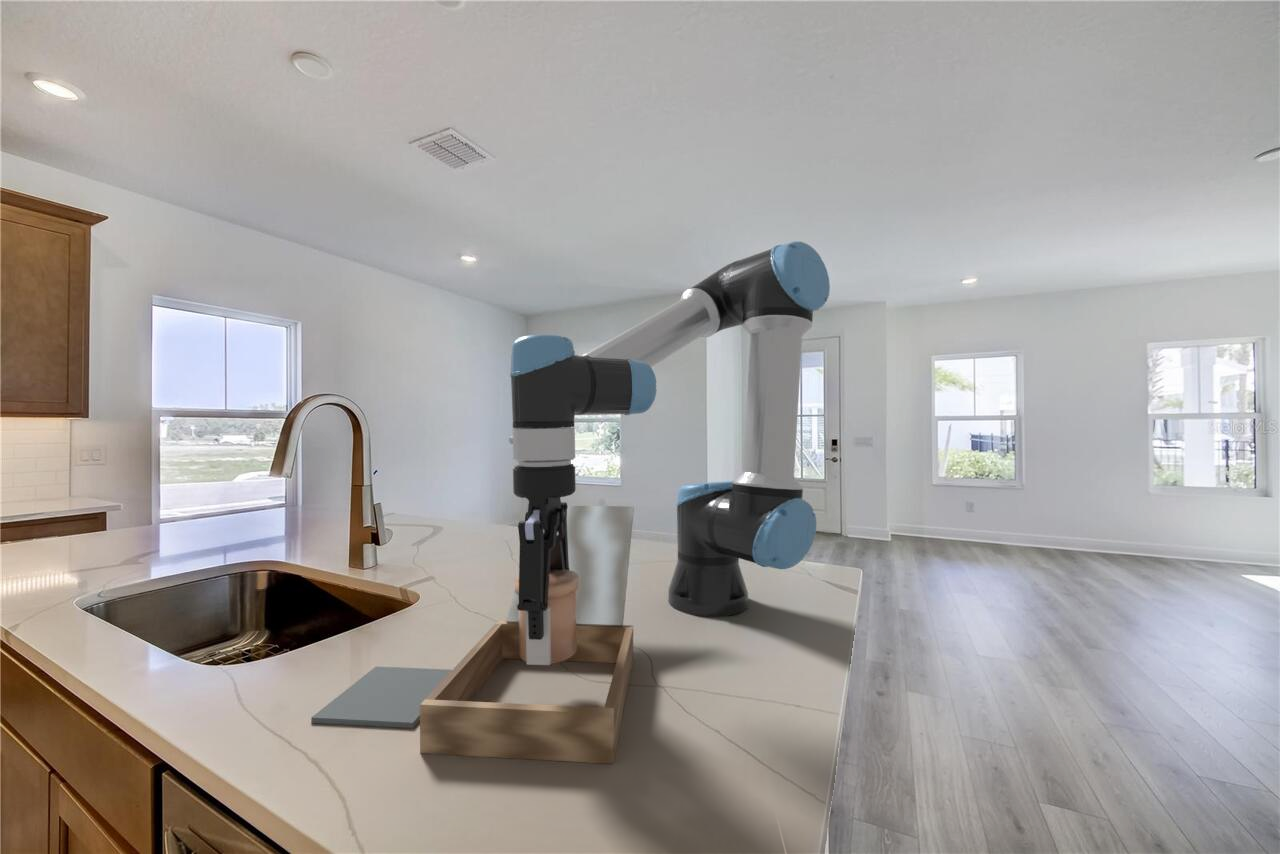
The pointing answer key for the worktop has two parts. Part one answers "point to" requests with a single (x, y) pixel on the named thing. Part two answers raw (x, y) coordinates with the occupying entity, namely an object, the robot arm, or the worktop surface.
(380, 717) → the mat
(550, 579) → the pot
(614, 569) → the cold frame
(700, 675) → the worktop surface
